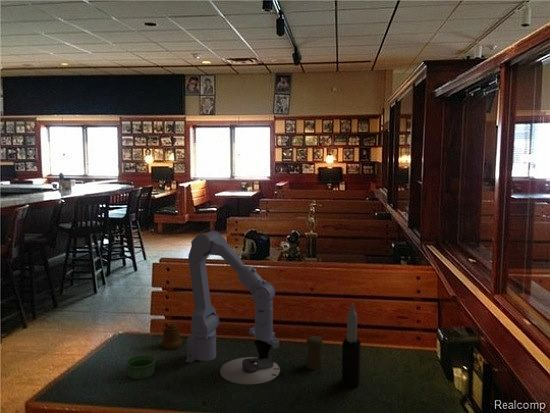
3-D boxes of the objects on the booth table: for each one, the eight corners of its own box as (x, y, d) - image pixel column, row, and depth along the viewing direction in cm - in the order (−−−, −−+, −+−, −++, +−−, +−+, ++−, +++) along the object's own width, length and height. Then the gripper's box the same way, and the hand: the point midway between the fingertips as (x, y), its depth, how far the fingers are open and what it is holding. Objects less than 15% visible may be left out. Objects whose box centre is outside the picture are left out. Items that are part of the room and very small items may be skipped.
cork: (322, 375, 146) (323, 341, 145) (303, 373, 147) (304, 340, 146) (324, 367, 151) (325, 334, 150) (306, 365, 153) (306, 333, 152)
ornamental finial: (174, 340, 173) (186, 346, 168) (157, 346, 168) (168, 352, 163) (174, 320, 173) (186, 325, 168) (156, 325, 167) (168, 330, 162)
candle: (360, 380, 143) (362, 301, 140) (357, 387, 138) (359, 306, 135) (344, 377, 144) (345, 299, 142) (341, 384, 139) (342, 304, 137)
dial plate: (208, 380, 142) (208, 375, 141) (238, 357, 159) (238, 352, 159) (263, 394, 134) (263, 388, 133) (289, 368, 151) (289, 363, 151)
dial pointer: (244, 373, 143) (244, 364, 143) (240, 366, 148) (240, 357, 147) (274, 368, 146) (274, 359, 146) (270, 362, 151) (270, 353, 150)
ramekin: (161, 373, 147) (161, 360, 146) (135, 383, 140) (135, 369, 140) (146, 365, 153) (145, 352, 152) (121, 374, 146) (120, 361, 146)
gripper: (287, 325, 144) (286, 367, 145) (261, 312, 156) (261, 351, 157) (268, 330, 140) (268, 372, 141) (244, 316, 152) (244, 356, 153)
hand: (263, 361), depth 149 cm, fingers closed, pressing on dial pointer
